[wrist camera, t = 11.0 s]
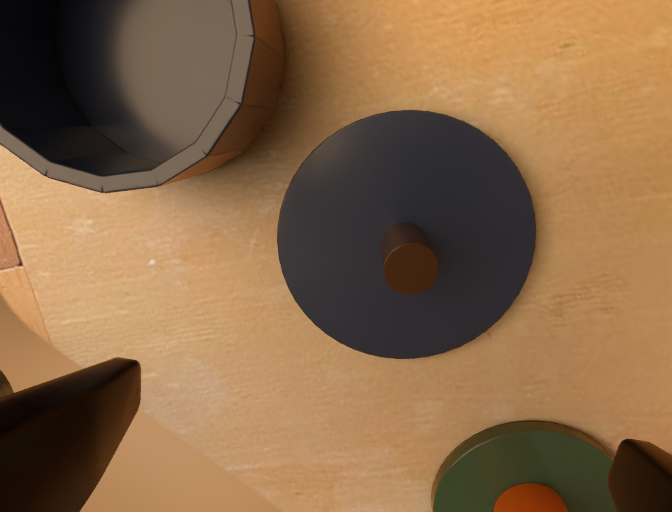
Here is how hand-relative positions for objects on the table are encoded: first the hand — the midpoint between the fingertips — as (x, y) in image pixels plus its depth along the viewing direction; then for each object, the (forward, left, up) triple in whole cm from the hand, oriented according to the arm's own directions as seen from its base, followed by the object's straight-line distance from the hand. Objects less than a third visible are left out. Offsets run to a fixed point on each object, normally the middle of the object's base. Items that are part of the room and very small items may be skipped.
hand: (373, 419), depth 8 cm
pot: (+1, +12, -13) cm, 18 cm away
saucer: (-6, -16, -13) cm, 21 cm away
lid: (+1, -1, -12) cm, 12 cm away
